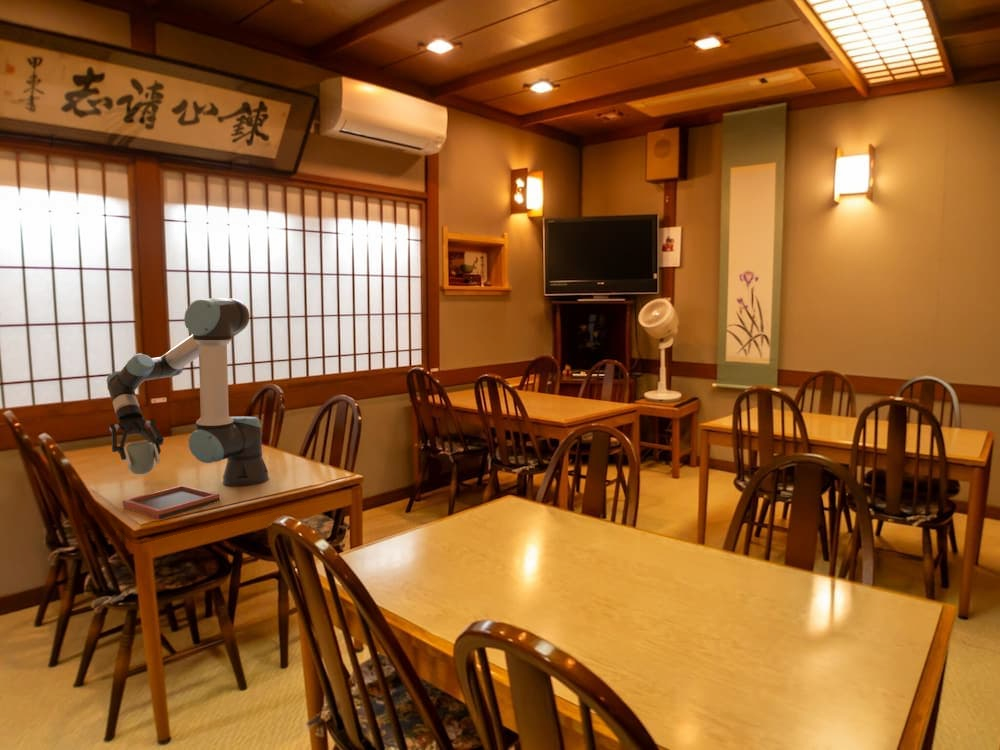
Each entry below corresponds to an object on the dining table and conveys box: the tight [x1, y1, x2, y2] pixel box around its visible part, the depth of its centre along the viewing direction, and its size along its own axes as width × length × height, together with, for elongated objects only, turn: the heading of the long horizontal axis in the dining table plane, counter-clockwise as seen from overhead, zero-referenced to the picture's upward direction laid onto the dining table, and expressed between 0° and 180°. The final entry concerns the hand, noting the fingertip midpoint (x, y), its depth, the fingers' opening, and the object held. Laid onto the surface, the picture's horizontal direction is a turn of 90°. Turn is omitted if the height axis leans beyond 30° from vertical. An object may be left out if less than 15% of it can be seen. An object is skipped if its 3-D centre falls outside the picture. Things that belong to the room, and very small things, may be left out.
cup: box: [125, 440, 155, 475], centre depth 221 cm, size 8×8×10 cm
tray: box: [122, 484, 221, 520], centre depth 210 cm, size 20×20×2 cm
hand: (144, 463), depth 219 cm, fingers closed on cup, 8 cm apart
